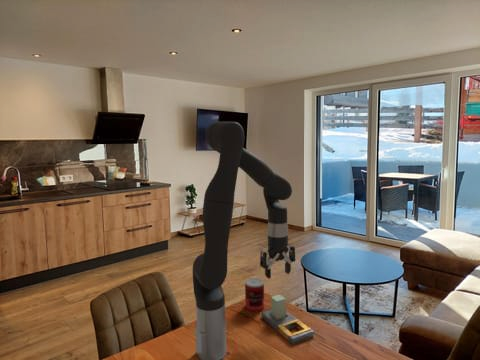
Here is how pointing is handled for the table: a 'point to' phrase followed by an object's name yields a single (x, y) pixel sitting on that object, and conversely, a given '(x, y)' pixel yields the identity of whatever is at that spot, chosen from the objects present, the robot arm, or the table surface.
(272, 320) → the grey yellow flat board
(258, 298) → the canned food
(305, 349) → the table surface
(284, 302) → the sage block
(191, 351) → the table surface
